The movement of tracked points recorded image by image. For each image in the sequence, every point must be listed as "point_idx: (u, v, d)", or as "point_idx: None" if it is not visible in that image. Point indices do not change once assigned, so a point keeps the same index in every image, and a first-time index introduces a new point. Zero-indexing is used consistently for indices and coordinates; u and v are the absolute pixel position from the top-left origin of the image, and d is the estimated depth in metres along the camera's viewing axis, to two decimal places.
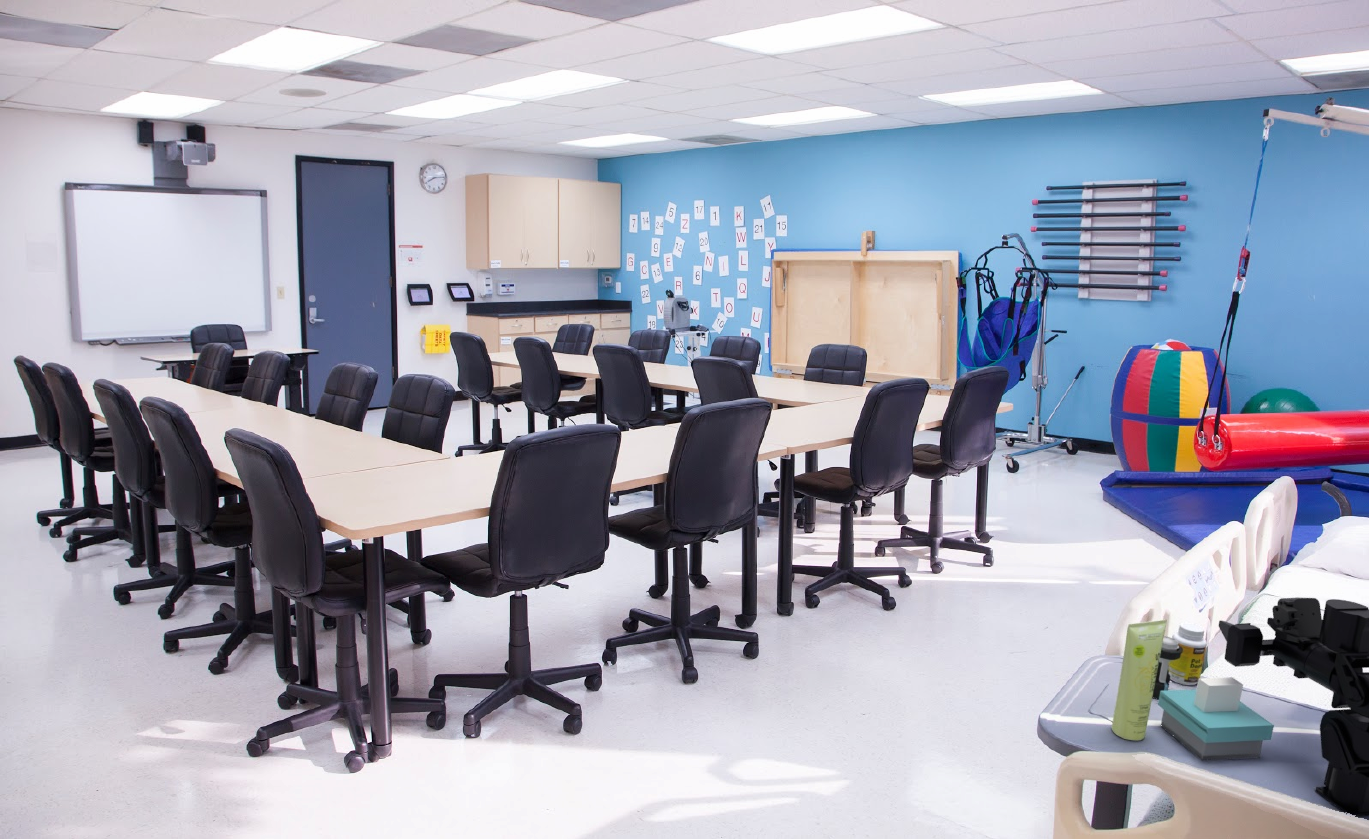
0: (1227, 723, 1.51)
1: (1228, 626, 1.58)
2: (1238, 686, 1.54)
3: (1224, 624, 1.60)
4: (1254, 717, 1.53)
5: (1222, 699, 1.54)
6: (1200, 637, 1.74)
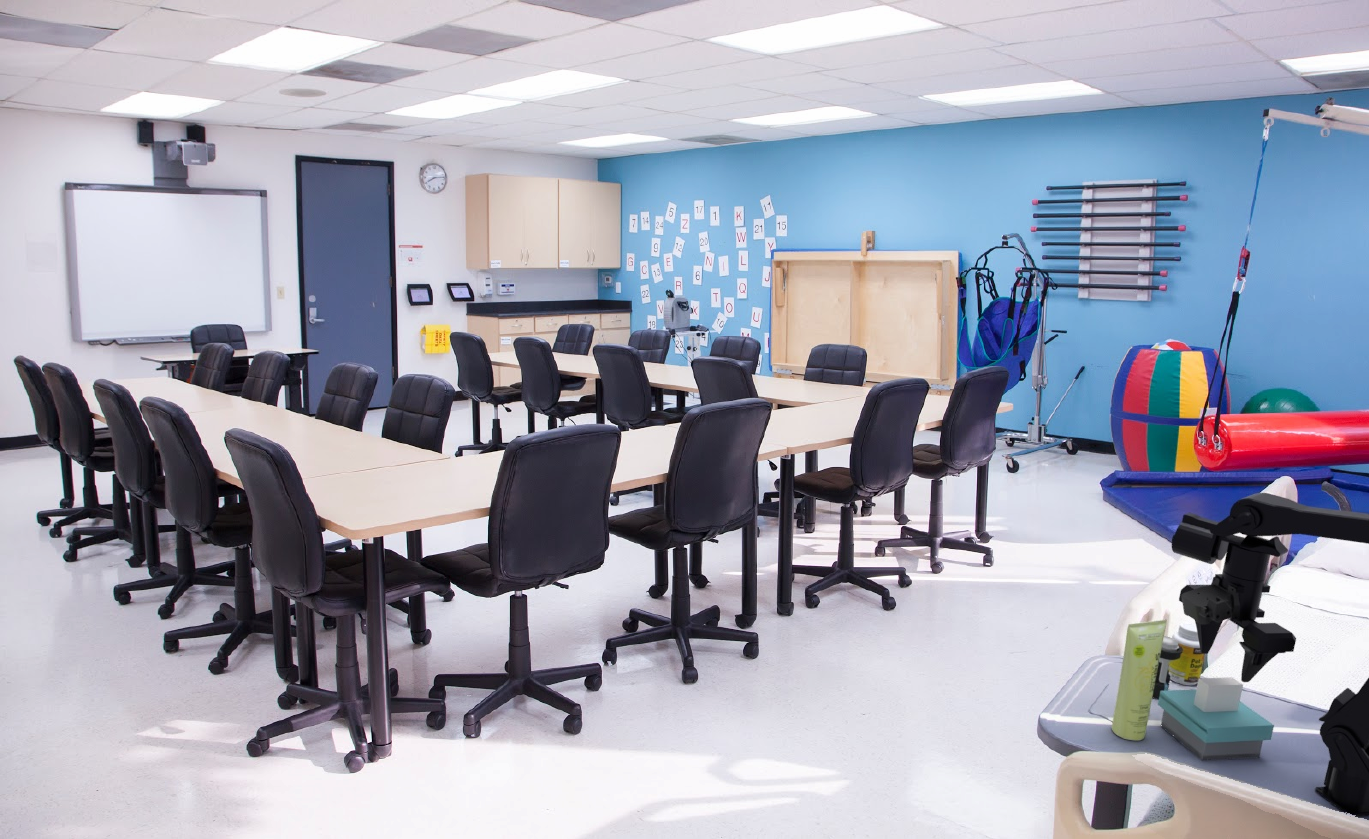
0: (1227, 723, 1.51)
1: (1249, 665, 1.48)
2: (1238, 686, 1.54)
3: (1247, 672, 1.48)
4: (1254, 717, 1.53)
5: (1222, 699, 1.54)
6: None
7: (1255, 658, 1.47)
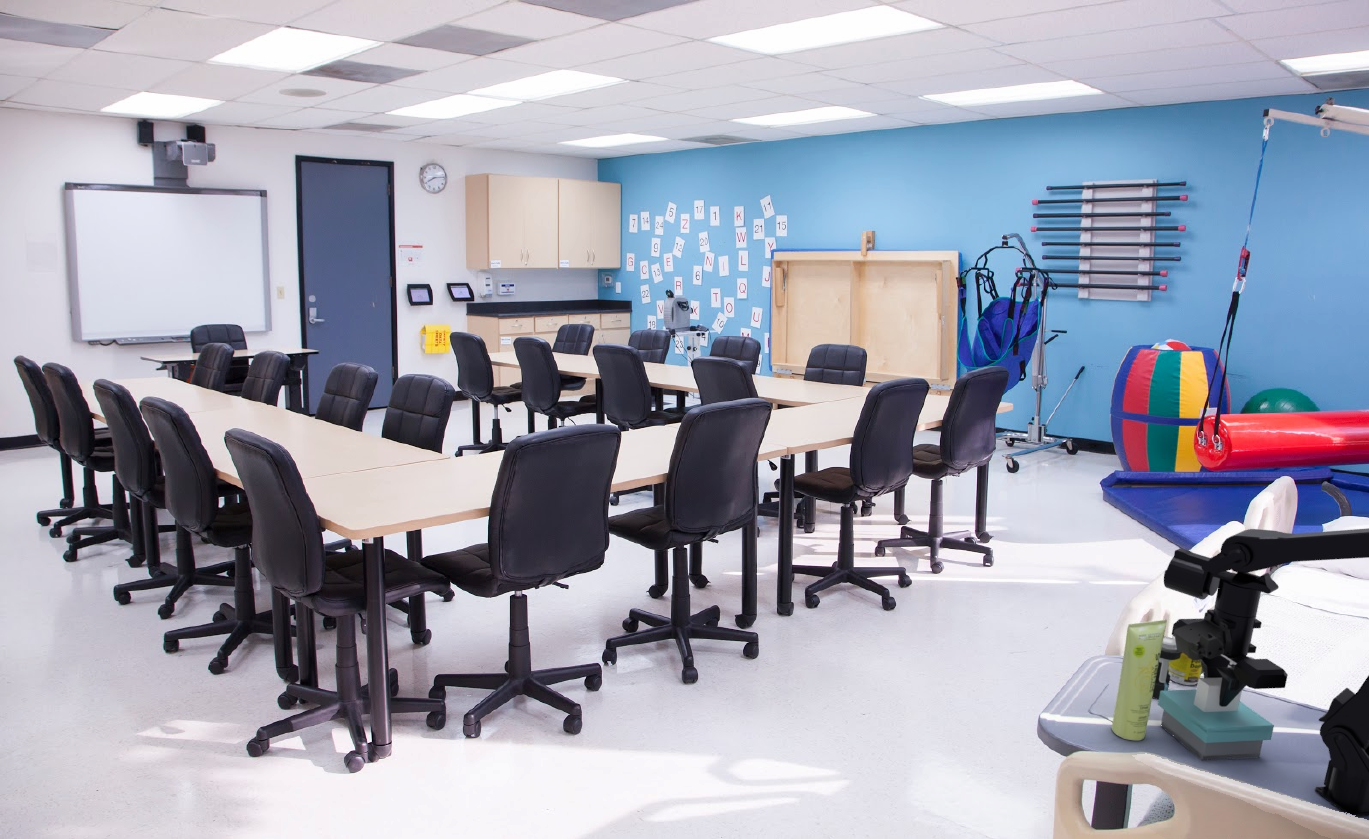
0: (1227, 723, 1.51)
1: (1227, 691, 1.52)
2: None
3: (1225, 697, 1.53)
4: (1254, 717, 1.53)
5: None
6: None
7: (1232, 683, 1.52)
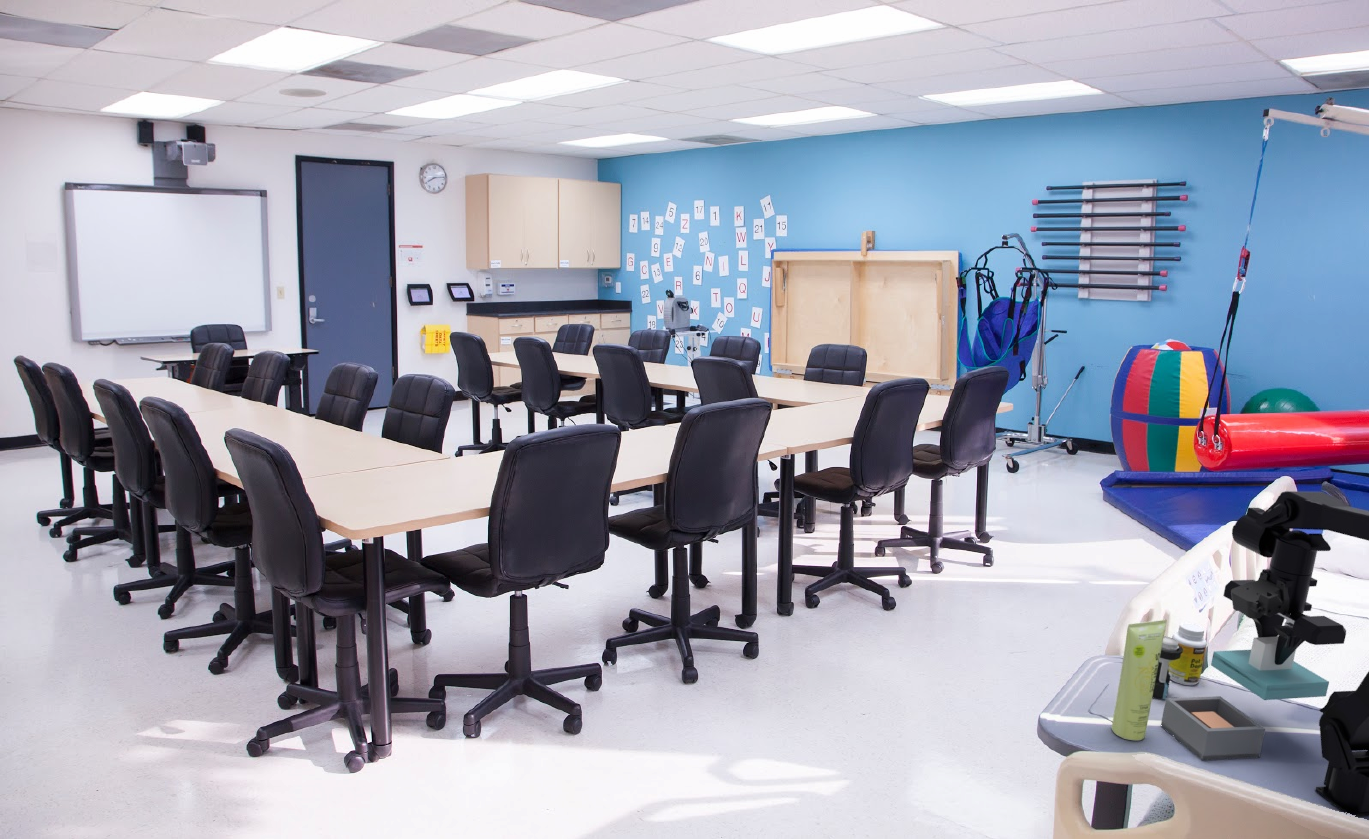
0: (1284, 680, 1.53)
1: (1283, 649, 1.54)
2: None
3: (1281, 655, 1.55)
4: (1309, 674, 1.55)
5: None
6: (1200, 637, 1.74)
7: (1288, 641, 1.54)
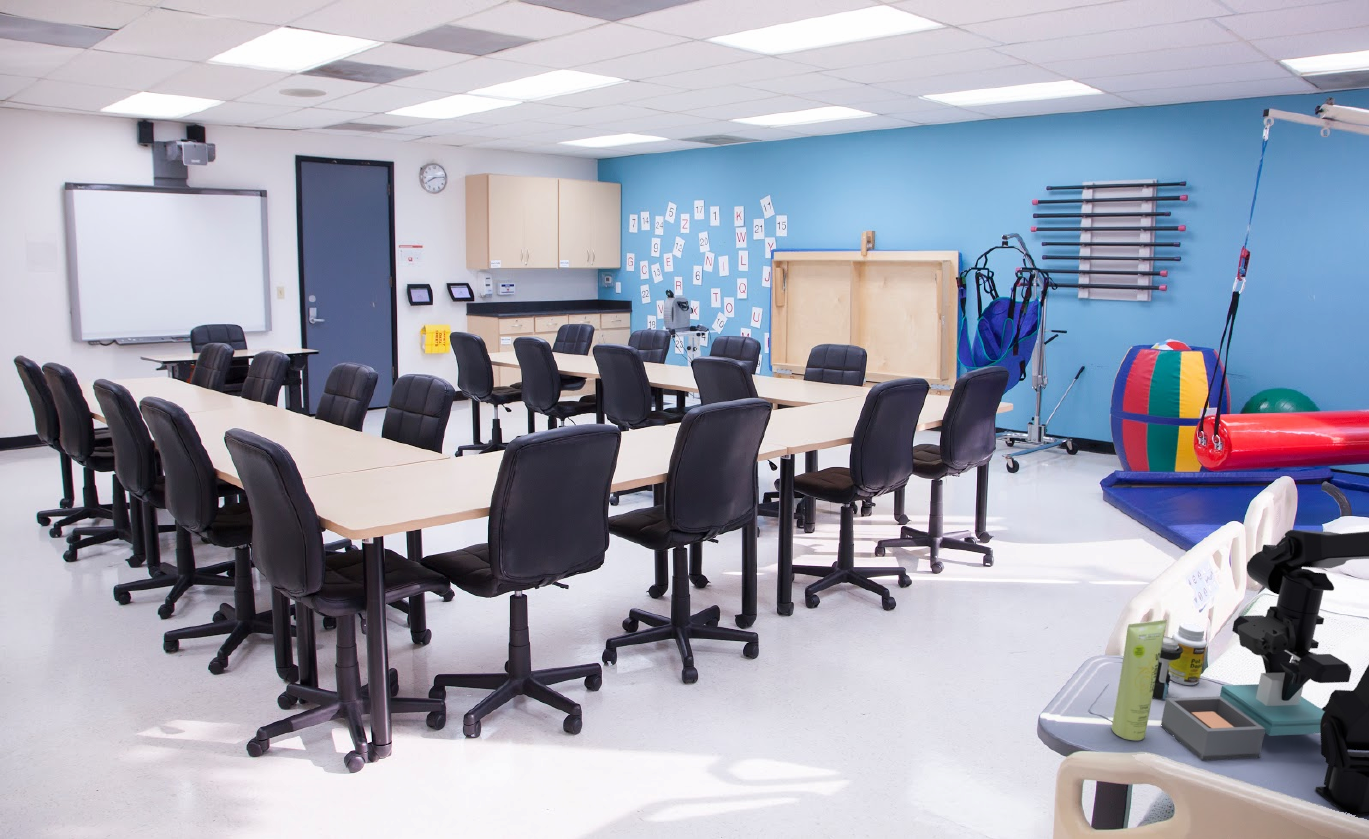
0: (1290, 716, 1.55)
1: (1289, 685, 1.56)
2: None
3: (1287, 691, 1.57)
4: (1316, 711, 1.57)
5: None
6: (1200, 637, 1.74)
7: (1295, 678, 1.56)
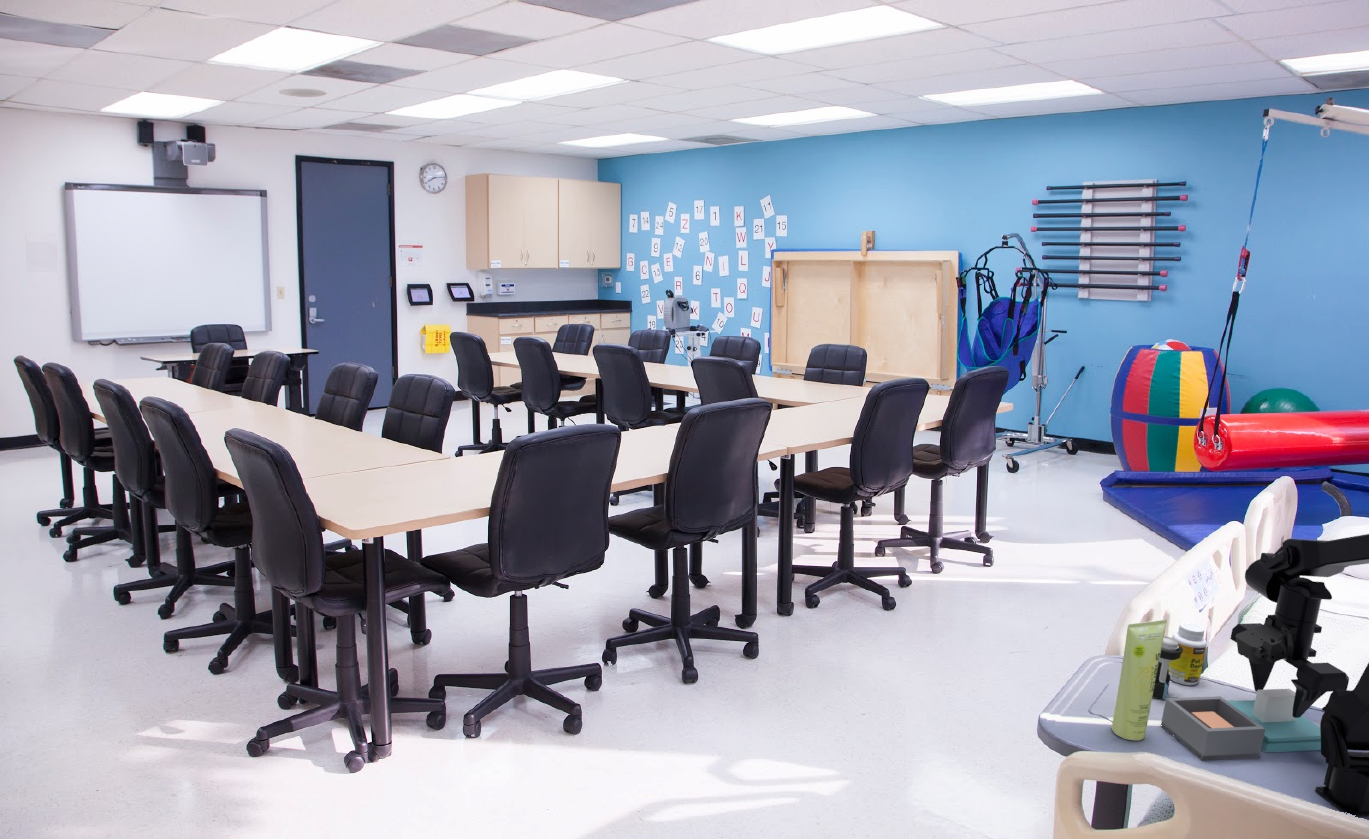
0: (1286, 733, 1.56)
1: (1300, 702, 1.54)
2: None
3: (1298, 708, 1.55)
4: (1312, 727, 1.58)
5: (1280, 710, 1.59)
6: (1200, 637, 1.74)
7: (1306, 695, 1.54)
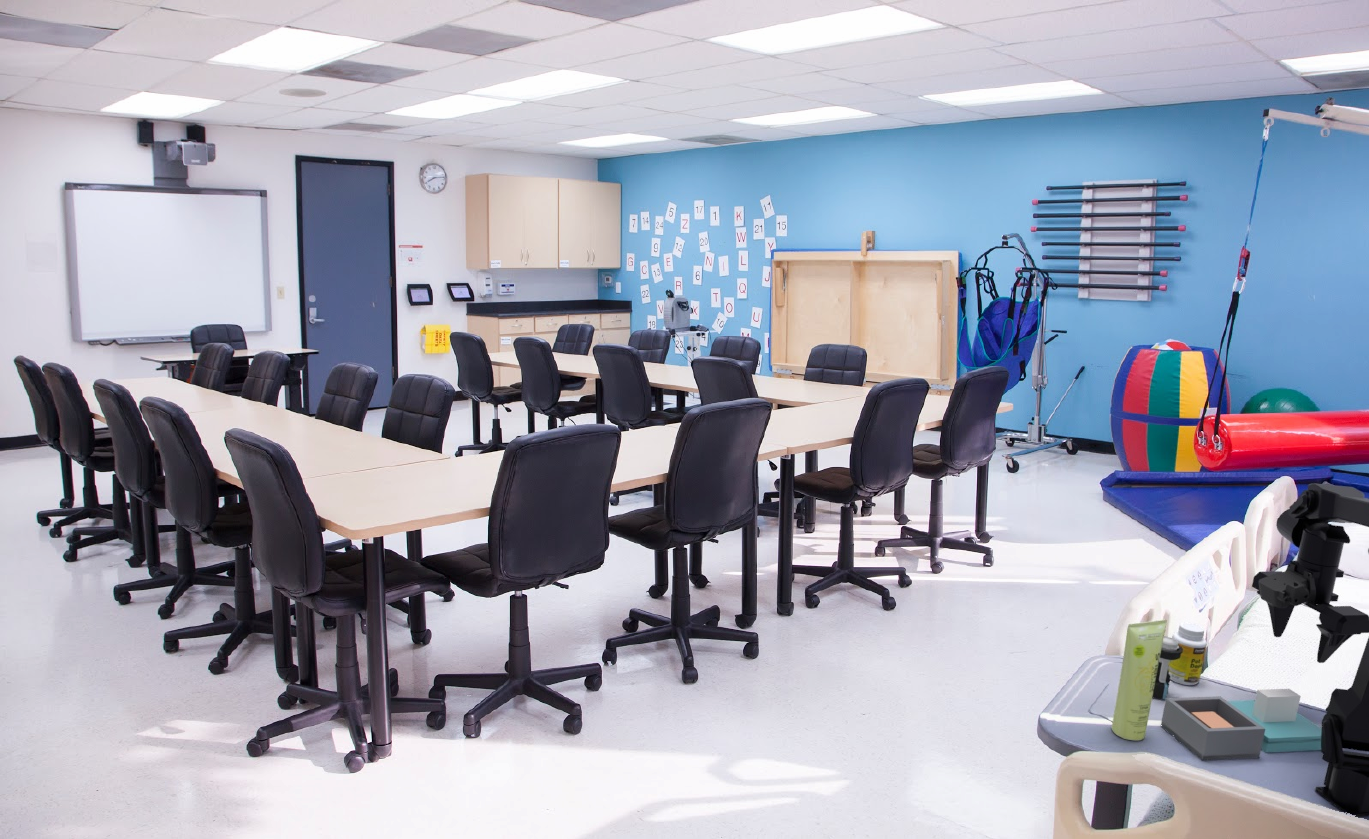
0: (1286, 733, 1.56)
1: (1325, 647, 1.56)
2: (1296, 698, 1.59)
3: (1323, 653, 1.56)
4: (1312, 727, 1.58)
5: (1280, 710, 1.59)
6: (1200, 637, 1.74)
7: (1331, 640, 1.55)
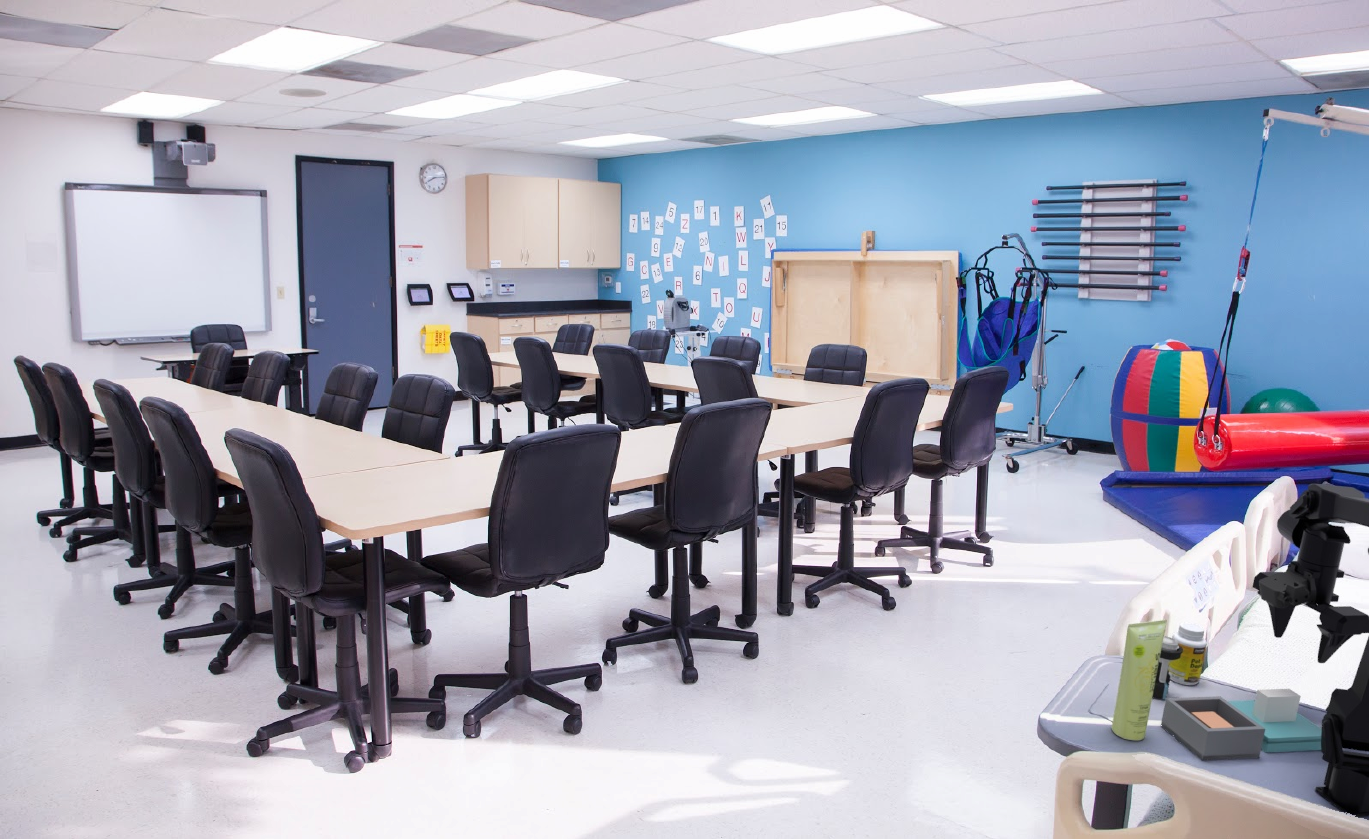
0: (1286, 733, 1.56)
1: (1326, 647, 1.56)
2: (1296, 698, 1.59)
3: (1323, 654, 1.56)
4: (1312, 727, 1.58)
5: (1280, 710, 1.59)
6: (1200, 637, 1.74)
7: (1331, 640, 1.55)
